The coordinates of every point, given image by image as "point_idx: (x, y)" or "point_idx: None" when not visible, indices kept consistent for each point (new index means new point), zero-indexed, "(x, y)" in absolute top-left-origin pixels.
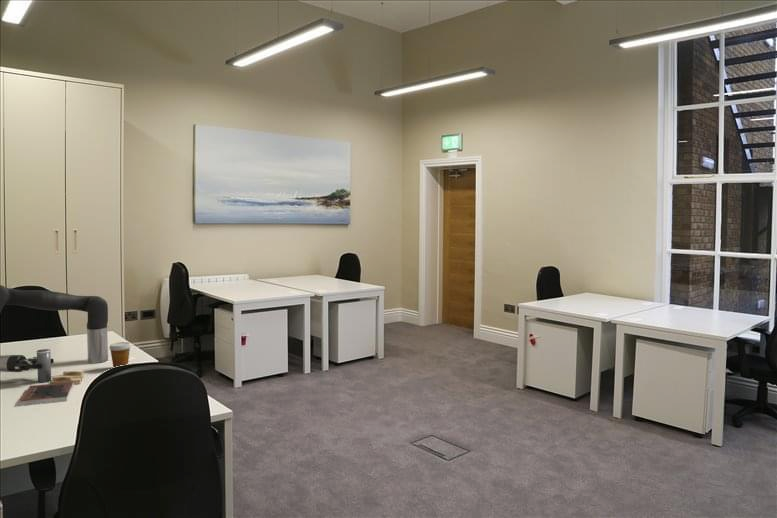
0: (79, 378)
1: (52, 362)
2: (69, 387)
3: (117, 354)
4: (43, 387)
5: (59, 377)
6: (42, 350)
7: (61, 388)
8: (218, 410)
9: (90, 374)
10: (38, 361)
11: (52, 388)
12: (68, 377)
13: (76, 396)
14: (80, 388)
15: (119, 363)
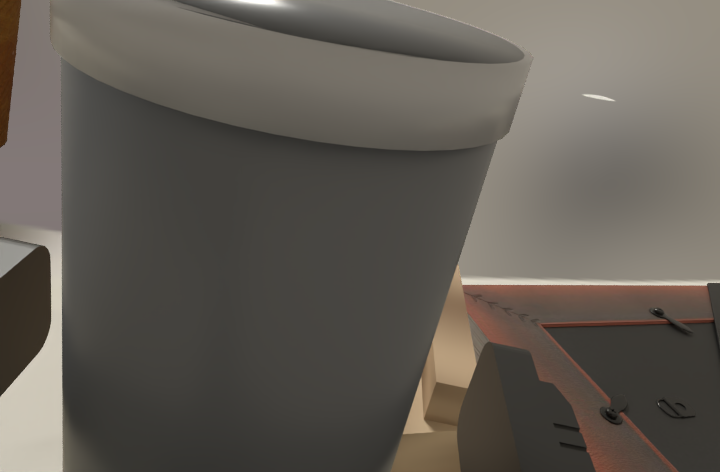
0: None
1: (47, 317)
2: (601, 292)
3: (15, 5)
4: (696, 465)
5: (465, 331)
6: (287, 3)
7: (641, 330)
8: (598, 98)
9: (52, 254)
10: (416, 381)
11: (675, 385)
12: (455, 275)
13: (660, 284)
14: (501, 280)
15: (10, 88)
